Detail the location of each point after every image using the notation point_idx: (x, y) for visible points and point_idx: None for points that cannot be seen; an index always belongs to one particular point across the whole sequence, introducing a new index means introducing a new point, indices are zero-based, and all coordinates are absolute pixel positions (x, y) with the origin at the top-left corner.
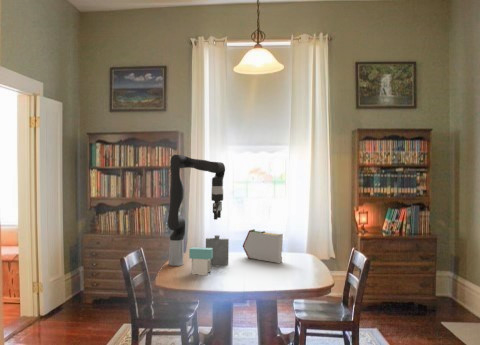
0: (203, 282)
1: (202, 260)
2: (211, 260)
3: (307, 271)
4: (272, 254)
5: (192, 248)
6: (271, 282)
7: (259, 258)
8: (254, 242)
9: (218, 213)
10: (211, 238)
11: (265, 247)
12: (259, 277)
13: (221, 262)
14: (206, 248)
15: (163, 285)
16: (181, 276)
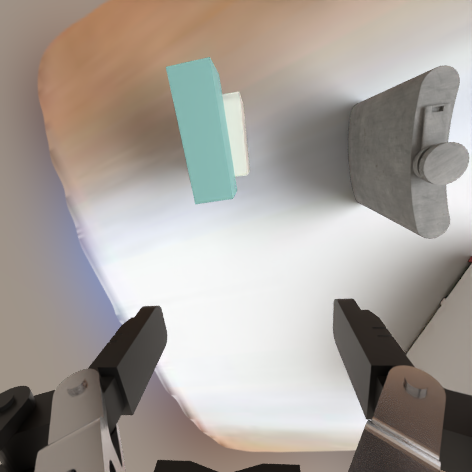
0: (132, 192)
1: None
2: (354, 135)
3: (326, 420)
4: (432, 362)
5: (181, 82)
6: (205, 355)
7: (448, 302)
8: None
9: (357, 363)
10: (430, 120)
11: (470, 358)
12: (236, 325)
13: (354, 181)
14: (212, 168)
15: (45, 71)
16: (156, 84)
